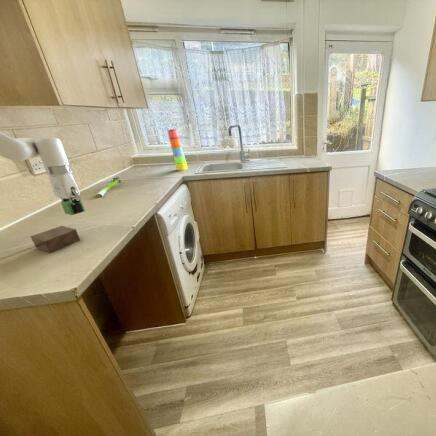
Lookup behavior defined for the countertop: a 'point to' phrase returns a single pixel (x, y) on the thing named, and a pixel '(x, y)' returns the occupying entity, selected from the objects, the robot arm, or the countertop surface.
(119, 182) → the leek
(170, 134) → the stacking cups
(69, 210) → the toy block
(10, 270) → the countertop surface
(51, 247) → the walnut block
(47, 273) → the countertop surface
